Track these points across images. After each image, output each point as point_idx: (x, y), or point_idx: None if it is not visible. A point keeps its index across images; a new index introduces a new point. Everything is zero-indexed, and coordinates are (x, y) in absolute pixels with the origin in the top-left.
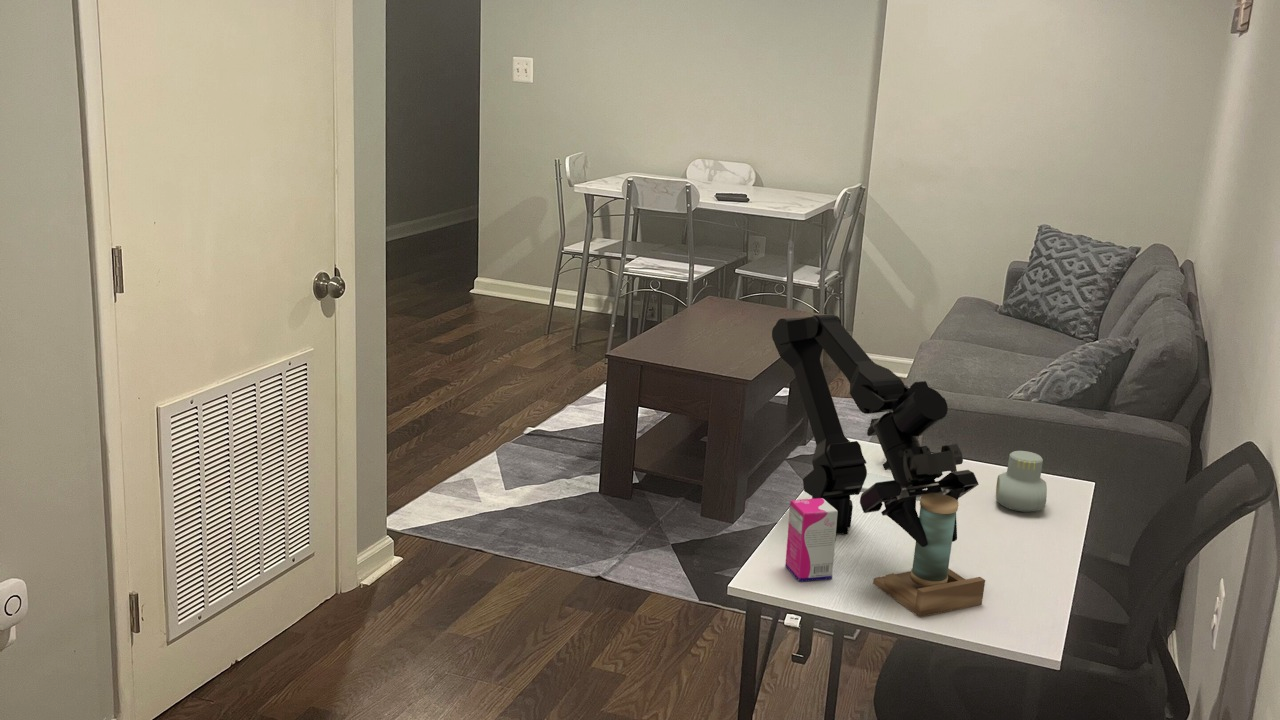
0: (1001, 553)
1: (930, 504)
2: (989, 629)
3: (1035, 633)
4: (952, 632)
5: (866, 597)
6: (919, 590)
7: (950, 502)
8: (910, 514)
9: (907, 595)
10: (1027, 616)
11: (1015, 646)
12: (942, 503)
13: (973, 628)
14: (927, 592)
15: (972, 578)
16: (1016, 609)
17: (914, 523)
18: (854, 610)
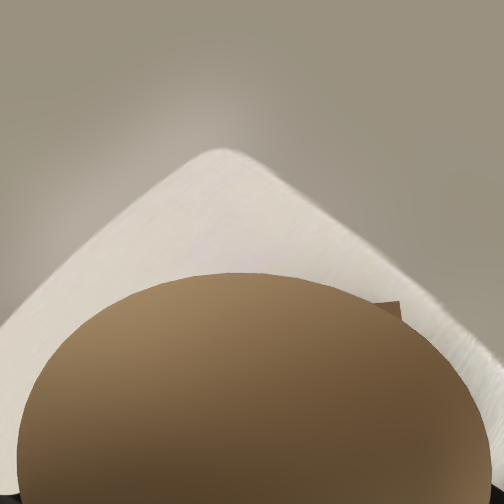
0: (6, 467)
1: (467, 434)
2: (252, 233)
3: (177, 200)
4: (342, 244)
5: None
6: (400, 316)
7: (122, 414)
8: (495, 488)
9: None
10: (136, 255)
11: (250, 173)
12: (264, 436)
13: (284, 245)
14: (381, 303)
15: None
16: (131, 285)
17: None
18: (493, 381)
